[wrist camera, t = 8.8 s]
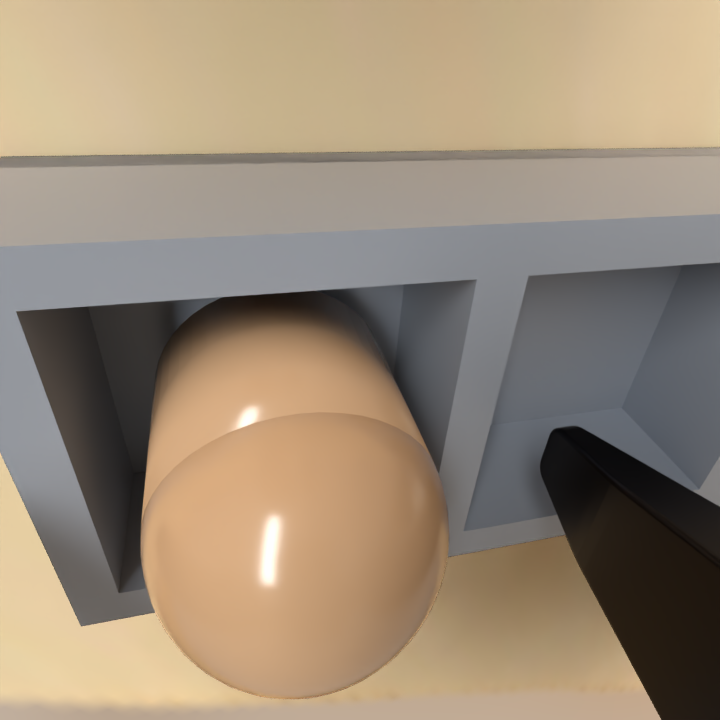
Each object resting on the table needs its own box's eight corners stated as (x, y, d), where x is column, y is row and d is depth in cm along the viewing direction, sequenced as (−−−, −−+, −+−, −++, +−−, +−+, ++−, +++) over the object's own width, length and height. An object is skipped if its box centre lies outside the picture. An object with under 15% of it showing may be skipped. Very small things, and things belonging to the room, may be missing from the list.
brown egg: (375, 253, 10) (544, 529, 5) (363, 420, 13) (469, 713, 8) (139, 266, 9) (75, 615, 4) (175, 443, 12) (160, 794, 7)
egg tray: (966, 144, 13) (1172, 193, 10) (803, 387, 17) (918, 468, 15) (0, 156, 8) (-93, 250, 6) (106, 482, 13) (80, 626, 10)
